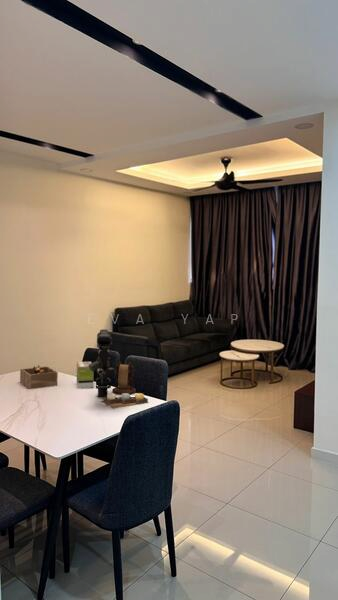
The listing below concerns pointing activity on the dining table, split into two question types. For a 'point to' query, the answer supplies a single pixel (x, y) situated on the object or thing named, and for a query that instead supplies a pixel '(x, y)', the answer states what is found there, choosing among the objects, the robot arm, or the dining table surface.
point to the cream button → (111, 396)
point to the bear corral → (38, 378)
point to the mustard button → (139, 396)
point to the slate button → (125, 396)
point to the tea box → (84, 375)
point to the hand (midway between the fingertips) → (103, 383)
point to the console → (123, 402)
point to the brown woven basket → (124, 379)
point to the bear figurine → (38, 370)
